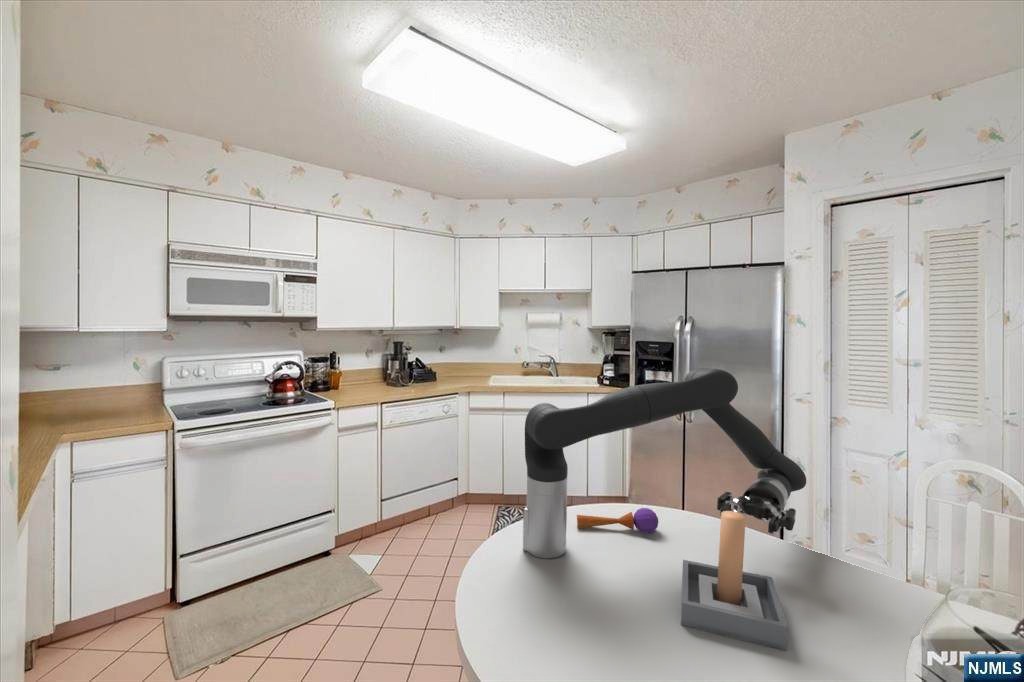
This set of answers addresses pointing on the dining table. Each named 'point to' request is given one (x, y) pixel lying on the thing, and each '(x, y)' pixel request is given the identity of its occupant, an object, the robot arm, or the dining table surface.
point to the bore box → (733, 607)
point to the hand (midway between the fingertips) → (746, 521)
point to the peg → (731, 557)
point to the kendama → (624, 520)
